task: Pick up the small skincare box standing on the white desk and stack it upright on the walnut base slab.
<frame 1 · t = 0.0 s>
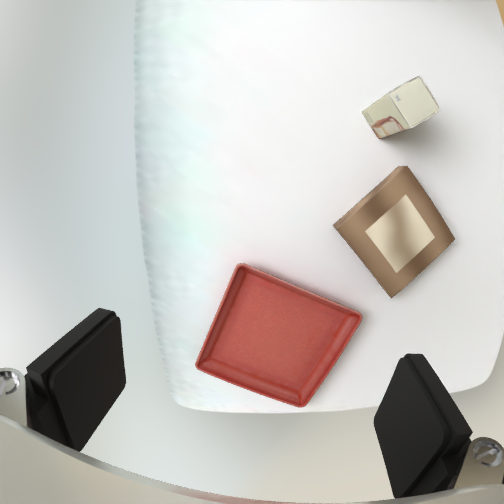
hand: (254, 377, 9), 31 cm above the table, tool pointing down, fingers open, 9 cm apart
base slab: (393, 230, 38), on the table
plant saucer: (275, 334, 44), on the table
skincare box: (384, 117, 35), on the table
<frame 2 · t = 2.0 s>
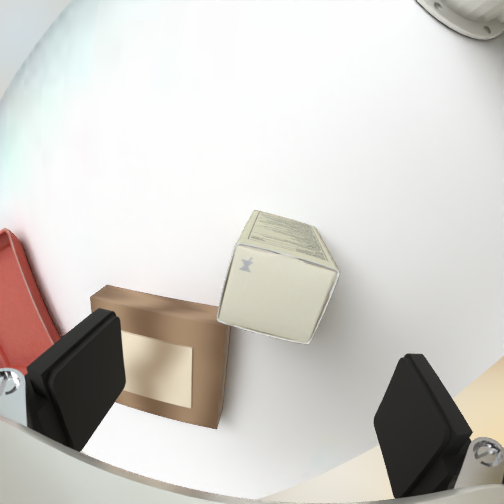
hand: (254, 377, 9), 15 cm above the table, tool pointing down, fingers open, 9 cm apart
base slab: (165, 353, 28), on the table
plant saucer: (16, 309, 30), on the table
skincare box: (278, 244, 24), on the table
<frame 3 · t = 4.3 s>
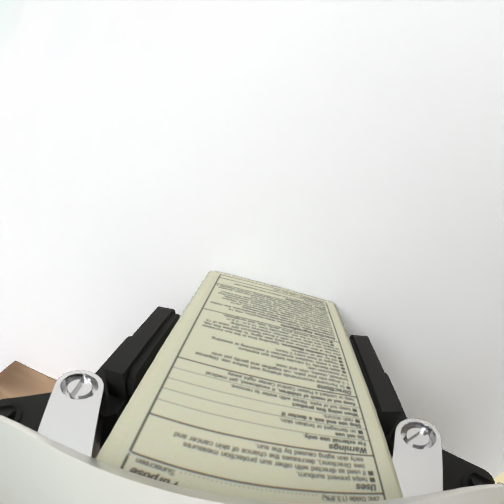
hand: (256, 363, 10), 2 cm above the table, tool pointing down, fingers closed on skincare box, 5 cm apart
base slab: (103, 454, 15), on the table
skincare box: (261, 332, 12), on the table, touching gripper
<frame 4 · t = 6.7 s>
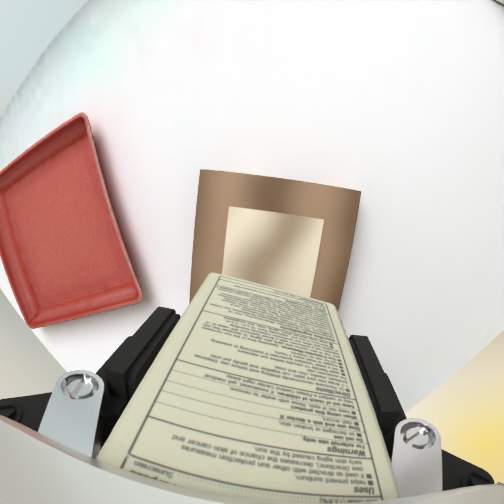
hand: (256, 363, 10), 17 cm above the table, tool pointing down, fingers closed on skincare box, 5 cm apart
base slab: (271, 249, 26), on the table
plant saucer: (63, 228, 28), on the table
skincare box: (261, 334, 12), point 15 cm above the table, touching gripper
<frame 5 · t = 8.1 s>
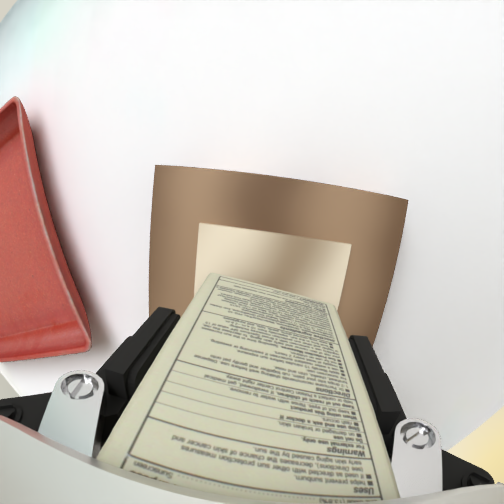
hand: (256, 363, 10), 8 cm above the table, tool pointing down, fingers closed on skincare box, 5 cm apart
base slab: (268, 282, 18), on the table
plant saucer: (7, 246, 20), on the table
skincare box: (261, 334, 12), point 6 cm above the table, touching gripper
when the fingers open (6 cm above the table, at t = 9.4 s): skincare box stays where it is, resting on base slab.
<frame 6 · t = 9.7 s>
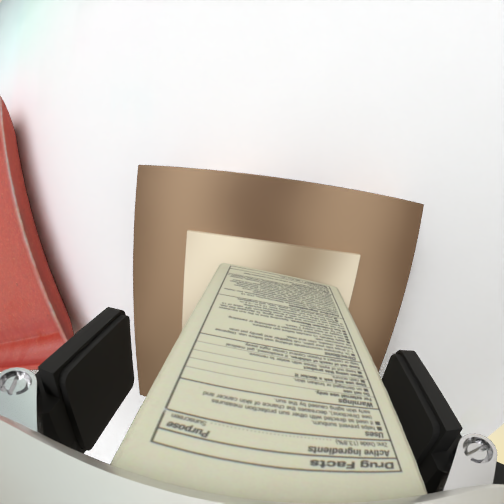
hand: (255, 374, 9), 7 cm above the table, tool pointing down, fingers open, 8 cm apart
base slab: (266, 295, 16), on the table
skincare box: (271, 319, 13), point 3 cm above the table, touching base slab
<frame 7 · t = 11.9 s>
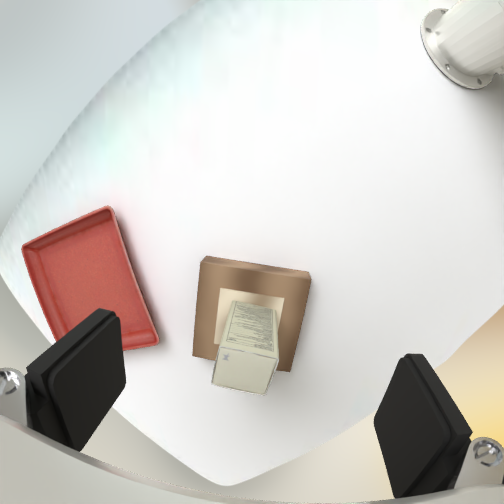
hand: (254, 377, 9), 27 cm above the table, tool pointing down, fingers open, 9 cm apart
base slab: (249, 311, 37), on the table
plant saucer: (92, 284, 39), on the table
skincare box: (251, 321, 34), point 3 cm above the table, touching base slab
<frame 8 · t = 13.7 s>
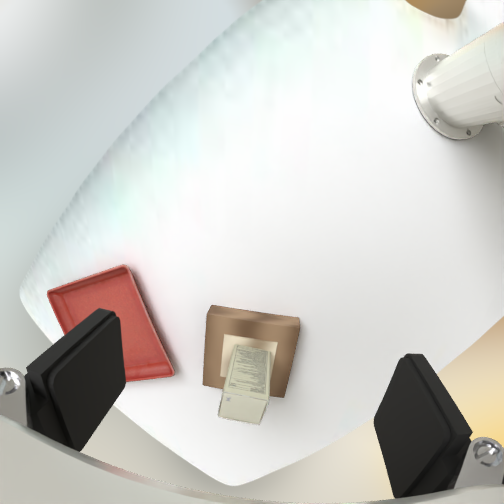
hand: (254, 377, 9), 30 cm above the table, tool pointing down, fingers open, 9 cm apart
base slab: (249, 348, 43), on the table
plant saucer: (114, 324, 45), on the table
skincare box: (250, 359, 40), point 3 cm above the table, touching base slab
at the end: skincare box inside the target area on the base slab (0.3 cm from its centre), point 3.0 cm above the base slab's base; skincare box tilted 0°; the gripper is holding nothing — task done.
